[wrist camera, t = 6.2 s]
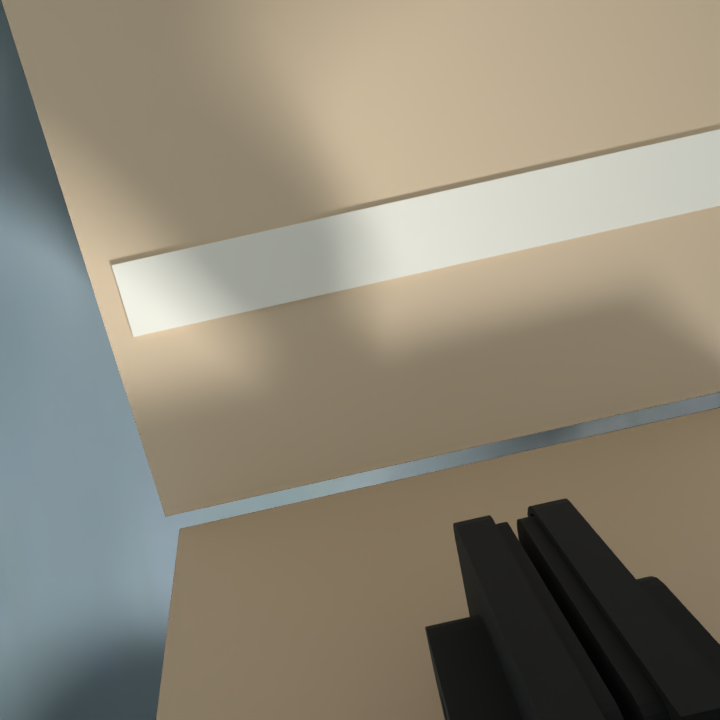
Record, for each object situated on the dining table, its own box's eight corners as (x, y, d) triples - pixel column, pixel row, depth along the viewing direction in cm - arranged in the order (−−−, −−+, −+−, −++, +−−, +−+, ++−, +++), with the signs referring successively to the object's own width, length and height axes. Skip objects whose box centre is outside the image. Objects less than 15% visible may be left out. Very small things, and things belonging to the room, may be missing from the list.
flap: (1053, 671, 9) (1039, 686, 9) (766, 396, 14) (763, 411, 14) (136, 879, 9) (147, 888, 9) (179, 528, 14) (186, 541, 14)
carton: (531, -353, 17) (709, -834, 9) (613, 315, 21) (783, 379, 13) (42, -244, 17) (-204, -635, 9) (223, 402, 21) (164, 518, 13)
